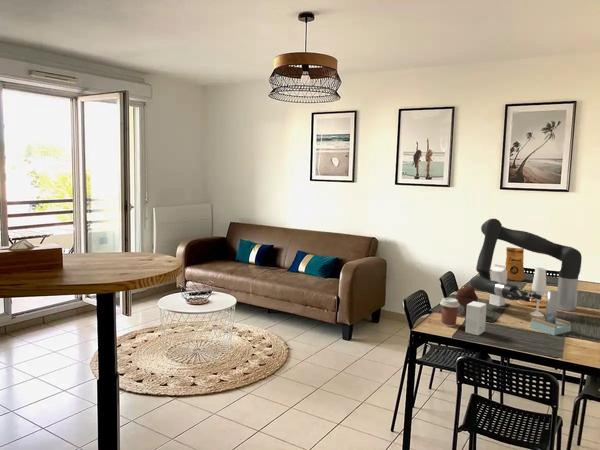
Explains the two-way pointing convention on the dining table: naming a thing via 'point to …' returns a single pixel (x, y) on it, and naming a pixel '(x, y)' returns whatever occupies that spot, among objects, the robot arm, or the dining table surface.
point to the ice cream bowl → (466, 297)
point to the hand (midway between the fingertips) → (535, 298)
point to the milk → (500, 276)
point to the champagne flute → (539, 287)
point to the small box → (475, 318)
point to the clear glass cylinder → (551, 306)
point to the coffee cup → (449, 311)
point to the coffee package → (514, 264)
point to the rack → (551, 326)
